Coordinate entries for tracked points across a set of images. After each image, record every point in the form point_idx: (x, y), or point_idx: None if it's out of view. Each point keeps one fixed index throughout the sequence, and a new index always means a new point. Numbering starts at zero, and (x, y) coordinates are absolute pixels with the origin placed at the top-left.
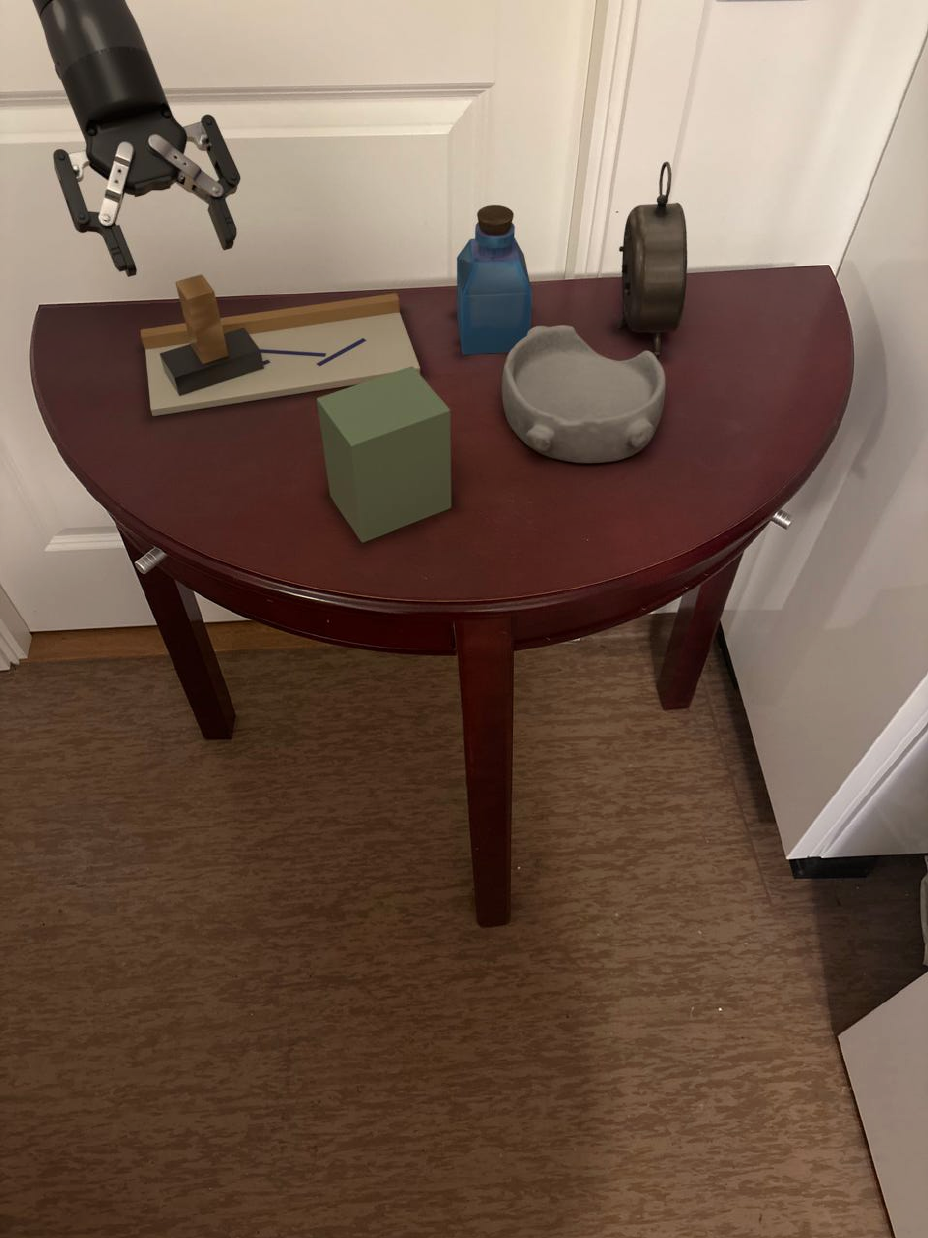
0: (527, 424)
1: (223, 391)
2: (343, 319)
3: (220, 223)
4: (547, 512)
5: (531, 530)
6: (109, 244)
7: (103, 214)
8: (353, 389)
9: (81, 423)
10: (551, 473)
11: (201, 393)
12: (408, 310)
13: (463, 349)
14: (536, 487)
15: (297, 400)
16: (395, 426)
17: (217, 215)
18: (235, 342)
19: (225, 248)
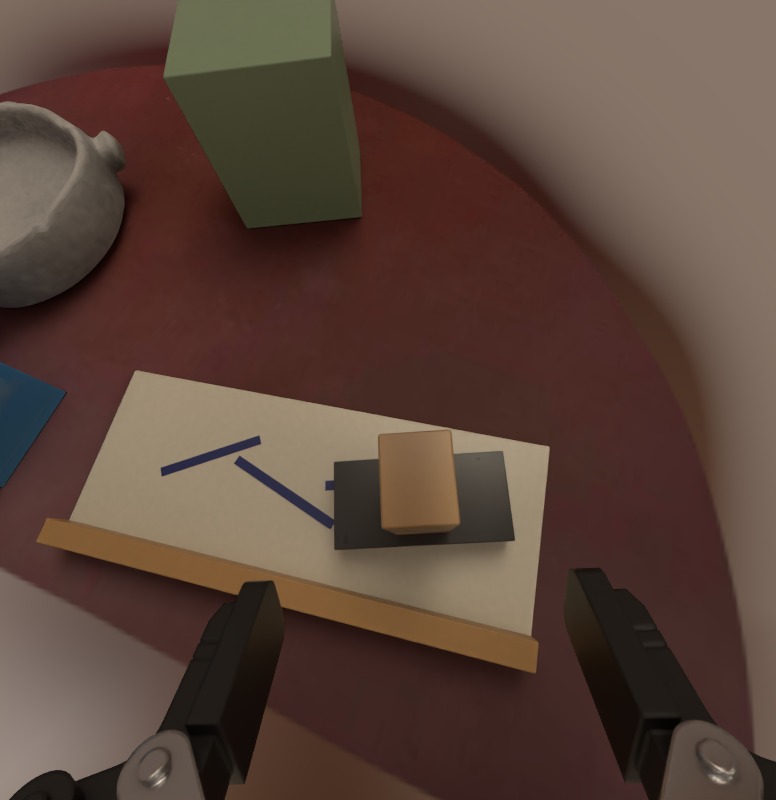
0: (104, 168)
1: None
2: (159, 541)
3: (245, 629)
4: (174, 133)
5: None
6: (675, 663)
7: (737, 784)
8: (270, 56)
9: (668, 486)
10: (133, 173)
11: (458, 451)
12: None
13: (57, 388)
14: (160, 162)
15: (323, 394)
16: None
17: (234, 658)
18: (367, 505)
19: (279, 602)
